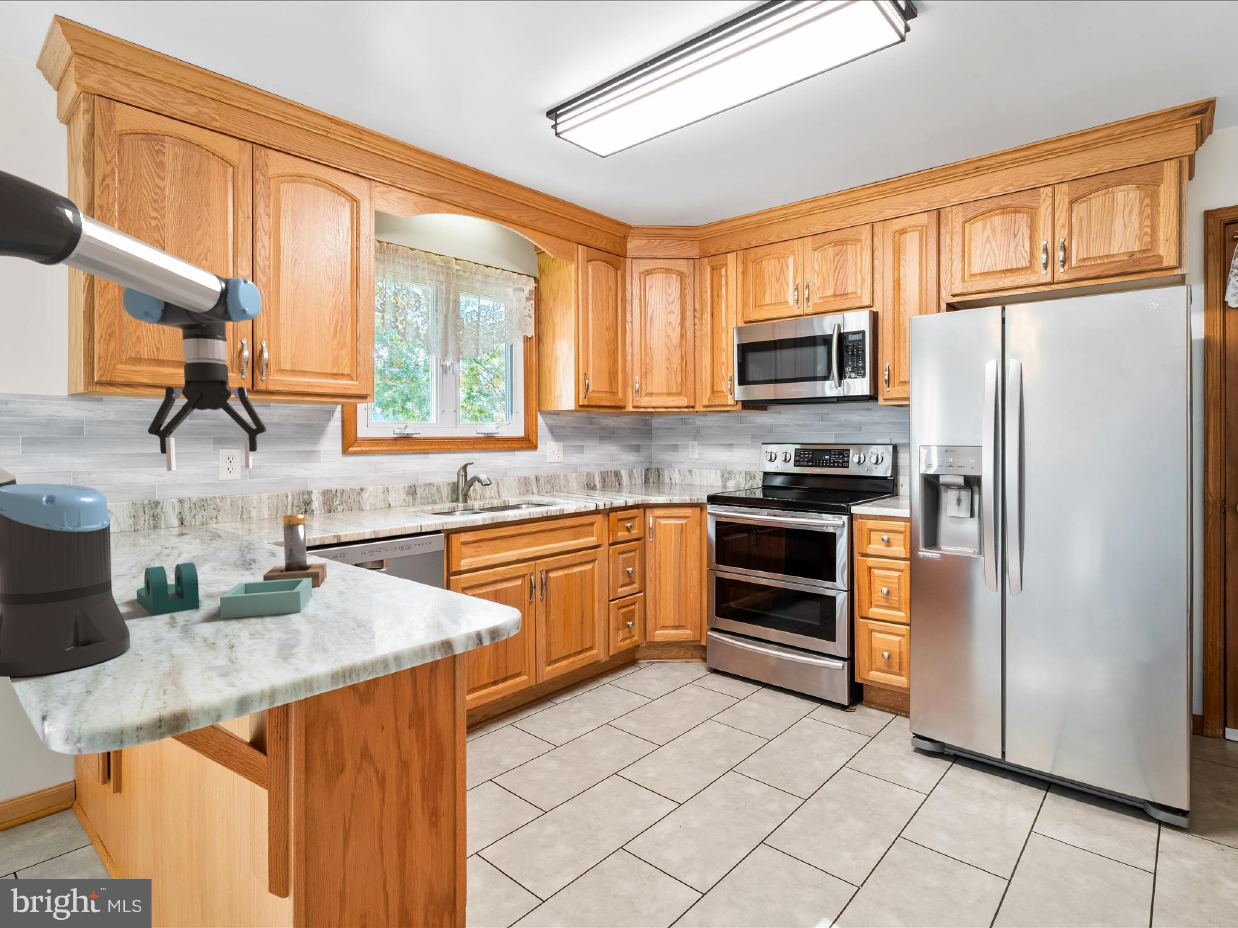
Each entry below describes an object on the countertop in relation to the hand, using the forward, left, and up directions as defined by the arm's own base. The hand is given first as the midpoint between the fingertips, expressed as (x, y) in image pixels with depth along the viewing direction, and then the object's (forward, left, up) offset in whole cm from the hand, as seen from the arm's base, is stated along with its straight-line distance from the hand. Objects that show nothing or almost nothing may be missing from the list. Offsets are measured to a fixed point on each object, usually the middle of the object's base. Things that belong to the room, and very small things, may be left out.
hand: (210, 469), depth 136 cm
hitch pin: (-3, -15, -24) cm, 28 cm away
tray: (-23, -14, -24) cm, 36 cm away
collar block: (-3, -15, -24) cm, 28 cm away
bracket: (-13, +5, -24) cm, 28 cm away
